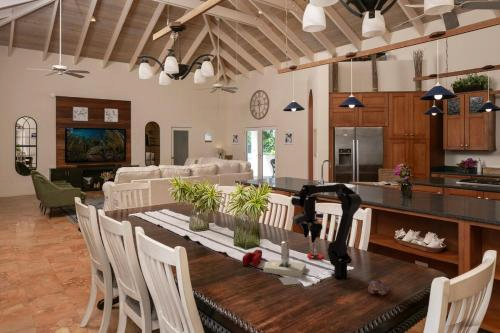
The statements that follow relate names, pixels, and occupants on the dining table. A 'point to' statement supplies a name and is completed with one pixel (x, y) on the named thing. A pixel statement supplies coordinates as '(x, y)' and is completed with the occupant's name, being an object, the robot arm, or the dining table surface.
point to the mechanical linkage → (252, 258)
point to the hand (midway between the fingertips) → (309, 239)
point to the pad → (289, 280)
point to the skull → (377, 287)
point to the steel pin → (285, 254)
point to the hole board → (285, 268)
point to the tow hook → (315, 253)
